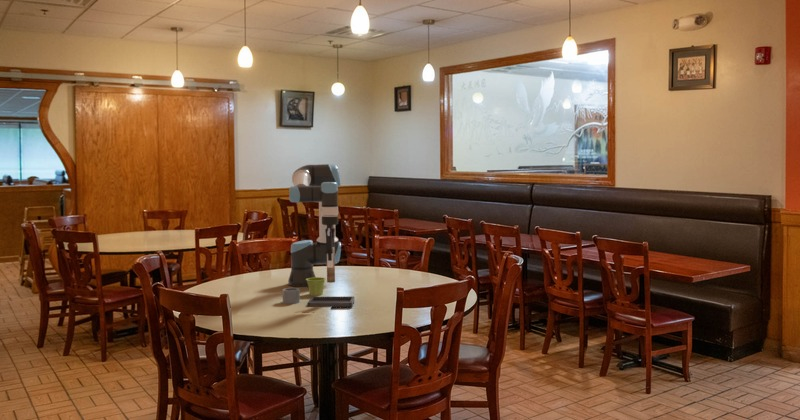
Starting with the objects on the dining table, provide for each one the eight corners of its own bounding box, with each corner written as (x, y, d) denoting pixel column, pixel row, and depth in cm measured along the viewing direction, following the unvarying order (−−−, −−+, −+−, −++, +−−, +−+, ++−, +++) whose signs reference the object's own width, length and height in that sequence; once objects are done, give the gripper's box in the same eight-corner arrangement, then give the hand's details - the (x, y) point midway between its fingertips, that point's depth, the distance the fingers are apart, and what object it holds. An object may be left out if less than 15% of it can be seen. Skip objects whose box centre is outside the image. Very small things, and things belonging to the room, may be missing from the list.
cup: (284, 302, 318) (284, 287, 318) (300, 302, 318) (300, 287, 318) (281, 306, 311) (281, 291, 310) (298, 306, 311) (297, 291, 310)
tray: (312, 301, 319) (312, 296, 319) (354, 301, 319) (354, 296, 319) (307, 308, 305) (307, 303, 305) (351, 308, 305) (351, 302, 305)
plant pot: (307, 298, 327) (307, 281, 326) (305, 295, 336) (305, 277, 335) (327, 297, 329) (326, 279, 328) (324, 293, 338) (323, 276, 337)
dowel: (327, 281, 313) (327, 246, 312) (335, 281, 313) (334, 246, 312) (326, 282, 309) (326, 247, 308) (334, 282, 309) (333, 247, 308)
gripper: (324, 214, 317) (325, 264, 319) (319, 217, 301) (320, 269, 302) (340, 214, 317) (340, 263, 319) (336, 217, 301) (336, 269, 302)
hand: (330, 266), depth 311 cm, fingers closed on dowel, 3 cm apart
